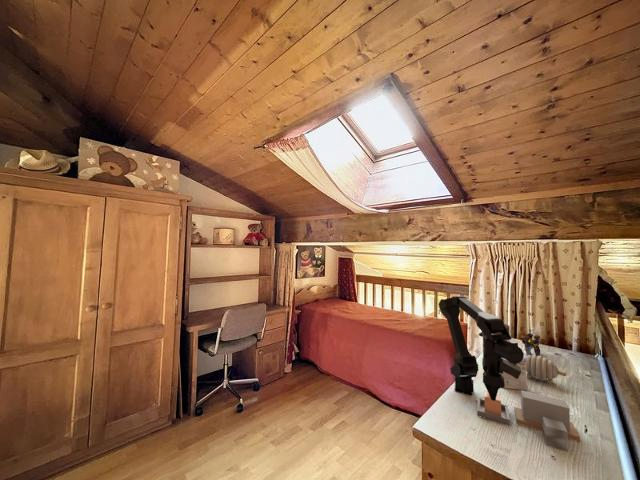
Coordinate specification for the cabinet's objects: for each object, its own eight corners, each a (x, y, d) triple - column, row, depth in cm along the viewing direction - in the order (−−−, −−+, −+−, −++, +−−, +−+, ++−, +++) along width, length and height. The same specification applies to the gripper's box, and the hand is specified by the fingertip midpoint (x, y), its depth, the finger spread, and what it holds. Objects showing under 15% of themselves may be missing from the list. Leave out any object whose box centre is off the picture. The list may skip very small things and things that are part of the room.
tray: (477, 415, 94) (477, 410, 94) (477, 402, 102) (477, 397, 102) (509, 425, 88) (509, 419, 89) (507, 410, 97) (507, 405, 97)
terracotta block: (484, 413, 94) (484, 396, 94) (484, 406, 99) (484, 390, 99) (501, 418, 92) (501, 401, 92) (500, 410, 96) (500, 394, 96)
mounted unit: (516, 423, 90) (516, 397, 90) (514, 410, 96) (513, 386, 97) (580, 441, 81) (579, 413, 81) (572, 426, 88) (571, 400, 88)
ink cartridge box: (520, 384, 116) (520, 351, 116) (527, 390, 110) (527, 356, 110) (496, 381, 117) (495, 349, 118) (502, 388, 112) (501, 354, 112)
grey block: (546, 445, 80) (545, 425, 80) (542, 435, 84) (542, 416, 84) (567, 452, 77) (567, 431, 77) (563, 441, 82) (562, 422, 82)
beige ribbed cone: (519, 370, 128) (519, 348, 128) (566, 382, 117) (565, 358, 117) (516, 378, 120) (516, 354, 121) (566, 392, 109) (566, 366, 109)
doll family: (545, 367, 131) (544, 341, 132) (522, 363, 137) (522, 337, 137) (540, 352, 150) (539, 329, 150) (520, 349, 155) (520, 327, 156)
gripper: (523, 366, 83) (524, 415, 83) (516, 347, 99) (516, 388, 99) (482, 358, 89) (483, 404, 89) (482, 342, 105) (482, 380, 105)
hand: (492, 394), depth 95 cm, fingers open, 9 cm apart
